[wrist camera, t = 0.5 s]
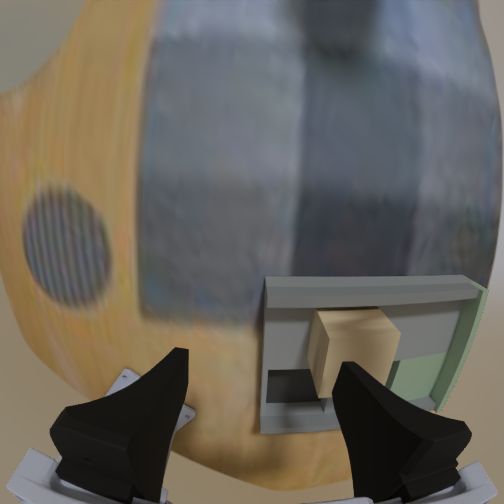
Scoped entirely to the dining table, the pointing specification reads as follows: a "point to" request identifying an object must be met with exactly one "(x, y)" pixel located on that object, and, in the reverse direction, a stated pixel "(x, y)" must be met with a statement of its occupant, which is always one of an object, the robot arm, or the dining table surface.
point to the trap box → (407, 354)
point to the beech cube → (350, 344)
